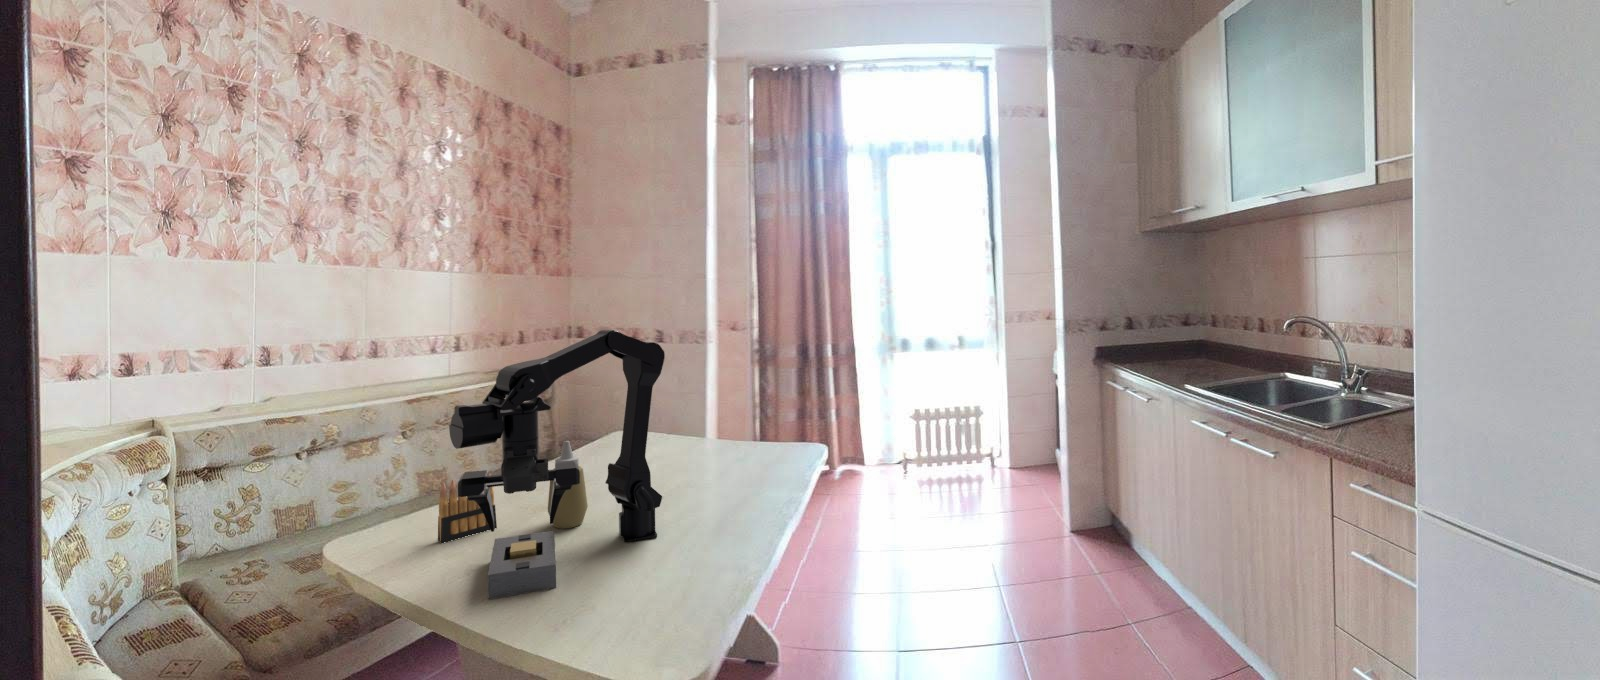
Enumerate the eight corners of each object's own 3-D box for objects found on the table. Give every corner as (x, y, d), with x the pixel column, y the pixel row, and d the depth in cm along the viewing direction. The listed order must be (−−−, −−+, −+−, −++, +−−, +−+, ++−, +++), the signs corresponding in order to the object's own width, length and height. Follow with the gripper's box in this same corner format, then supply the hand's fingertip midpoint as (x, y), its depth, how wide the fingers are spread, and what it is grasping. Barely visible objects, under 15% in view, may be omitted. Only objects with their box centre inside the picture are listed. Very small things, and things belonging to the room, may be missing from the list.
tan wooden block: (536, 567, 106) (536, 540, 106) (536, 576, 103) (535, 548, 102) (512, 571, 105) (511, 543, 104) (510, 580, 101) (510, 552, 101)
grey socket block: (554, 551, 113) (553, 529, 113) (556, 587, 98) (555, 563, 98) (495, 560, 109) (494, 537, 109) (488, 599, 94) (487, 573, 94)
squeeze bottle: (596, 522, 128) (594, 440, 127) (563, 534, 121) (561, 447, 120) (572, 515, 133) (570, 435, 132) (539, 526, 126) (537, 442, 125)
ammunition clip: (441, 543, 116) (439, 483, 116) (437, 541, 118) (435, 482, 117) (497, 528, 125) (495, 472, 124) (493, 526, 126) (491, 470, 125)
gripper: (451, 454, 91) (454, 553, 92) (580, 443, 99) (582, 535, 99) (460, 439, 101) (463, 528, 102) (577, 430, 109) (578, 514, 110)
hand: (522, 527), depth 103 cm, fingers open, 9 cm apart
